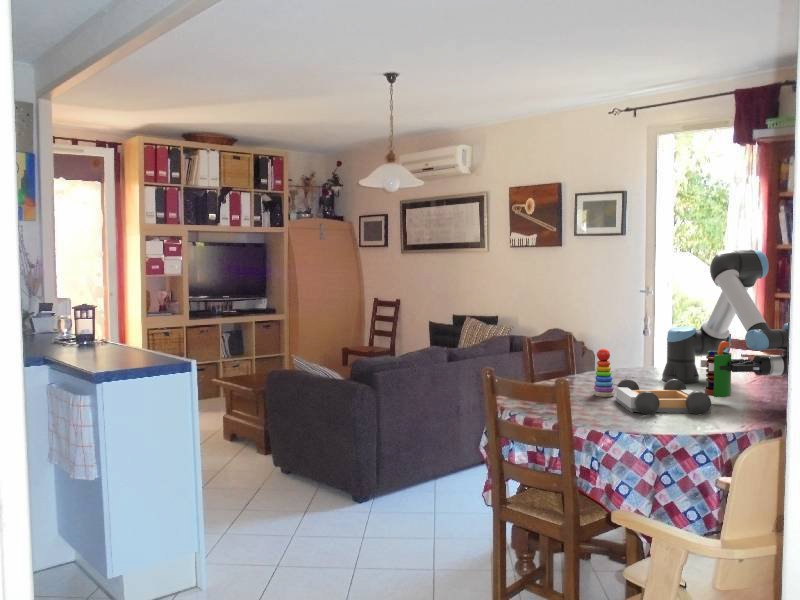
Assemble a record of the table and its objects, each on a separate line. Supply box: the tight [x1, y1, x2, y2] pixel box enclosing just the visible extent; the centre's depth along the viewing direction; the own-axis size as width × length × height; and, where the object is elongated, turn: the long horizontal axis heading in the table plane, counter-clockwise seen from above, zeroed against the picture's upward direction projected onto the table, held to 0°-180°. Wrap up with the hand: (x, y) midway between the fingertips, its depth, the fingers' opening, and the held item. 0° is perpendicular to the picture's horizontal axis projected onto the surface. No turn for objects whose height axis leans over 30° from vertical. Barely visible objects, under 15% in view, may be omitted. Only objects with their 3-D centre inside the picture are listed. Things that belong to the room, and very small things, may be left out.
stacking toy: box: [593, 348, 615, 398], centre depth 284 cm, size 8×8×19 cm
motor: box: [704, 341, 732, 398], centre depth 267 cm, size 10×9×20 cm
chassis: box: [615, 378, 712, 415], centre depth 264 cm, size 25×28×8 cm
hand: (705, 365), depth 267 cm, fingers closed on motor, 7 cm apart
